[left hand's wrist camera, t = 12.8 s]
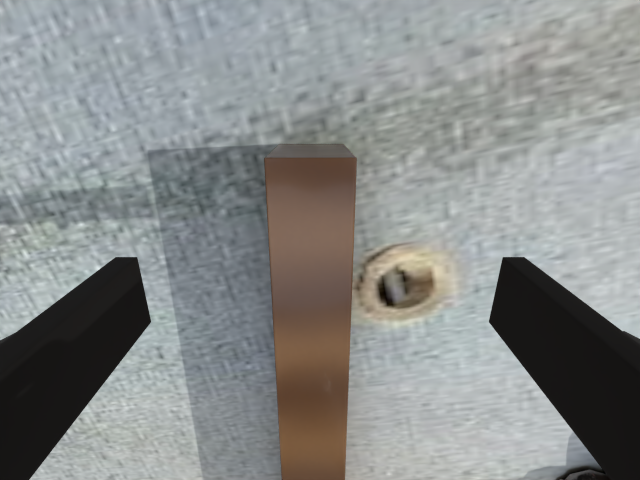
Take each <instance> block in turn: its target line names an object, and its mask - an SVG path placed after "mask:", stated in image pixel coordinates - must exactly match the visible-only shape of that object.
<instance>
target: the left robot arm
mask: <svg viewBox="0 0 640 480" xmlns="http://www.w3.org/2000/svg"><path fill="white" fill-rule="evenodd" d="M150 323H151V319H150V315H149V310H148V305H147V301H146V296H145V292H144V287H143V282H142V278H141V273H140V268H139V264H138V259H137V257H115V258H114V259H113V260H112V261H110V262H109V263H108V264H106V265H105V266H104V267H102V268H101V269H100V270H98V271H97V272H96V273H94V274H93V275H92V276H90V277H89V278H88V279H86V280H85V281H84V282H82V283H81V284H80V285H78V286H77V287H76V288H74V289H73V290H72V291H70V292H69V293H68V294H66V295H65V296H64V297H62V298H61V299H60V300H58V301H57V302H56V303H54V304H53V305H52V306H51V307H49V308H48V309H47V310H45V311H44V312H43V313H41V314H40V315H39V316H37V317H36V318H35V319H33V320H32V321H31V322H29V323H28V324H27V325H25V326H24V327H23V328H21V329H20V330H19V331H17V332H16V333H14V334H12V335H10V336H8V337H6V338H4V339H2V340H0V480H29V479H30V478H31V477H32V475H33V474H34V473H35V471H36V470H37V469H38V468H39V466H40V465H41V464H42V462H43V461H44V460H45V459H46V457H47V456H48V455H49V453H50V452H51V451H52V449H53V448H54V447H55V446H56V444H57V443H58V442H59V440H60V439H61V438H62V437H63V435H64V434H65V433H66V431H67V430H68V429H69V427H70V426H71V425H72V424H73V422H74V421H75V420H76V418H77V417H78V416H79V415H80V413H81V412H82V411H83V409H84V408H85V407H86V405H87V404H88V403H89V402H90V400H91V399H92V398H93V396H94V395H95V394H96V393H97V391H98V390H99V389H100V387H101V386H102V385H103V383H104V382H105V381H106V380H107V378H108V377H109V376H110V374H111V373H112V372H113V371H114V369H115V368H116V367H117V365H118V364H119V363H120V361H121V360H122V359H123V358H124V356H125V355H126V354H127V352H128V351H129V350H130V349H131V347H132V346H133V345H134V343H135V342H136V341H137V339H138V338H139V337H140V336H141V334H142V333H143V332H144V330H145V329H146V328H147V327H148V325H149V324H150ZM489 323H490V324H491V325H492V327H493V328H494V329H495V330H496V332H497V333H498V334H499V336H500V337H501V338H502V339H503V341H504V342H505V343H506V345H507V346H508V347H509V349H510V350H511V351H512V352H513V354H514V355H515V356H516V358H517V359H518V360H519V361H520V363H521V364H522V365H523V367H524V368H525V369H526V371H527V372H528V373H529V374H530V376H531V377H532V378H533V380H534V381H535V382H536V383H537V385H538V386H539V387H540V389H541V390H542V391H543V393H544V394H545V395H546V396H547V398H548V399H549V400H550V402H551V403H552V404H553V405H554V407H555V408H556V409H557V411H558V412H559V413H560V415H561V416H562V417H563V418H564V420H565V421H566V422H567V424H568V425H569V426H570V427H571V429H572V430H573V431H574V433H575V434H576V435H577V437H578V438H579V439H580V440H581V442H582V443H583V444H584V446H585V447H586V448H587V449H588V451H589V452H590V453H591V455H592V456H593V457H594V459H595V460H596V461H597V462H598V464H599V465H600V466H601V468H602V469H603V470H604V471H605V473H606V474H607V475H608V477H609V478H610V479H611V480H640V339H639V338H637V337H635V336H633V335H631V334H629V333H627V332H625V331H621V330H620V329H619V328H617V327H616V326H615V325H613V324H612V323H611V322H609V321H608V320H607V319H605V318H604V317H603V316H601V315H600V314H599V313H597V312H596V311H595V310H593V309H592V308H591V307H589V306H588V305H587V304H586V303H584V302H583V301H582V300H580V299H579V298H578V297H576V296H575V295H574V294H572V293H571V292H570V291H568V290H567V289H566V288H564V287H563V286H562V285H560V284H559V283H558V282H556V281H555V280H554V279H552V278H551V277H550V276H548V275H547V274H546V273H544V272H543V271H542V270H540V269H539V268H538V267H536V266H535V265H534V264H532V263H531V262H530V261H528V260H527V259H526V258H525V257H503V259H502V264H501V268H500V273H499V278H498V282H497V287H496V292H495V296H494V301H493V305H492V310H491V315H490V319H489Z"/></svg>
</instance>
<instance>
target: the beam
mask: <svg viewBox="0 0 640 480" xmlns="http://www.w3.org/2000/svg"><path fill="white" fill-rule="evenodd" d="M264 164H265V182H266V201H267V219H268V237H269V256H270V274H271V292H272V310H273V329H274V347H275V365H276V383H277V402H278V420H279V438H280V456H281V475H282V480H345V462H346V435H347V409H348V382H349V355H350V328H351V301H352V275H353V248H354V221H355V194H356V167H357V158H356V157H355V156H354V155H353V154H352V153H351V152H350V151H349V149H348V148H347V147H346V146H345V145H344V144H279V145H278V146H277V147H276V148H275V149H273V150H272V151H271V152H270V153H269V154H268V155H267V156H266V157H265V158H264Z"/></svg>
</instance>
